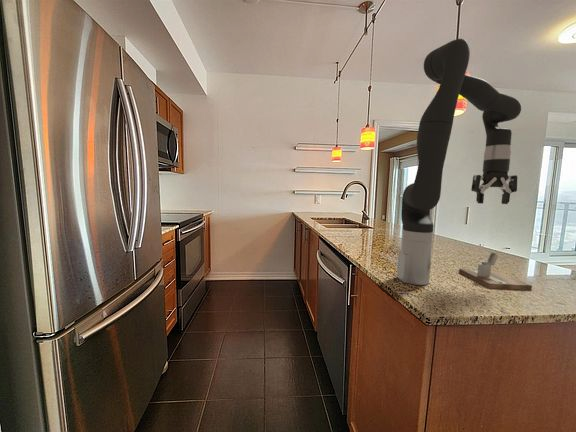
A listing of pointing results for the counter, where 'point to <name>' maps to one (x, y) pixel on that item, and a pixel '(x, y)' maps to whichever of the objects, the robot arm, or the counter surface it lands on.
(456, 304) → the counter surface
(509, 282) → the brown flat slab
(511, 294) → the counter surface
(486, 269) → the lighter
